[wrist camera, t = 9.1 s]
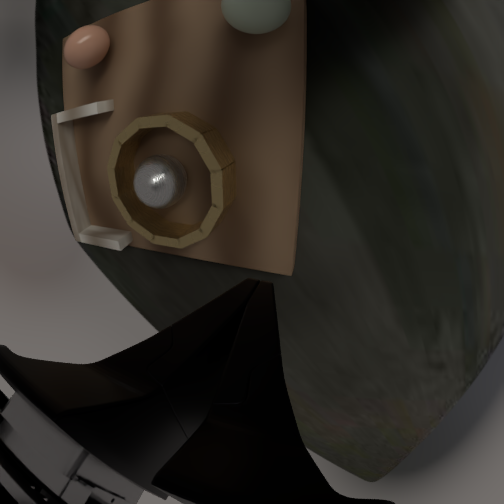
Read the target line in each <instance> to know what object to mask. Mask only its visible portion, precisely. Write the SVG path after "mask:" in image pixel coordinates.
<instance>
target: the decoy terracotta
mask: <svg viewBox="0 0 504 504" xmlns="http://www.w3.org/2000/svg"><path fill="white" fill-rule="evenodd" d="M109 47H110V38H109V35H108V33H107V31H106V30H105V29H103V28H102V27H100V26H97V25H87V26H83V27H81V28H79V29H77V30H76V31H74V32H73V33H72V34H71V35H70V36H69V38H68V39H67V41H66V43H65V46H64V58H65V60H66V62H67V63H68V64H69V65H70V66H71V67H73V68H76V69H87V68H91V67H93V66H95V65H97V64H98V63H99V62H101V61H102V60H103V58H104V57H105V56H106V54H107V52H108V50H109Z"/></svg>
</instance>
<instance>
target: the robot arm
mask: <svg viewBox="0 0 504 504" xmlns="http://www.w3.org/2000/svg"><path fill="white" fill-rule="evenodd" d="M0 374H1V375H2V377H3V378H4V379H5V380H6V381H7V383H8V384H9V385H10V386H11V387H12V388H13V389H14V390H15V393H14V394H13V395H12V397H11V398H10V399H8V398H7V396H6V395H5V394H4V393H3V392H2V391H1V390H0V504H137V502H138V500H139V498H140V497H141V495H142V493H143V491H144V490H145V491H148V492H150V493H152V494H154V495H156V496H158V497H160V498H162V499H164V500H166V499H167V497H168V496H171V497H173V498H174V499H176V500H178V501H180V502H181V503H183V504H395V503H394V502H391V501H387V500H379V499H355V498H349V497H346V496H343V495H341V494H339V493H337V492H336V491H334V489H332V487H331V486H330V485H329V483H328V482H327V481H326V479H325V477H324V476H323V474H322V473H321V471H320V470H319V468H318V466H317V465H316V463H315V462H314V460H313V459H312V457H311V455H310V454H309V452H308V451H307V449H306V447H305V445H304V443H303V441H302V439H301V436H300V433H299V430H298V427H297V423H296V420H295V416H294V413H293V410H292V406H291V403H290V399H289V396H288V392H287V388H286V383H285V379H284V373H283V366H282V357H281V349H280V339H279V330H278V321H277V312H276V303H275V295H274V286H273V283H272V282H268V281H260V280H257V279H252V278H248V279H246V280H244V281H242V282H241V283H239V284H238V285H236V286H234V287H233V288H231V289H230V290H228V291H226V292H225V293H223V294H222V295H220V296H218V297H217V298H215V299H213V300H212V301H210V302H209V303H207V304H205V305H204V306H202V307H200V308H199V309H197V310H195V311H194V312H192V313H191V314H189V315H187V316H186V317H184V318H182V319H181V320H179V321H177V322H176V323H174V324H172V327H171V326H169V327H167V328H166V329H164V330H162V331H161V332H159V333H157V334H155V335H154V336H152V337H150V338H148V339H146V340H144V341H142V342H140V343H138V344H136V345H134V346H132V347H130V348H127V349H125V350H123V351H121V352H119V353H116V354H114V355H112V356H110V357H108V358H105V359H103V360H101V361H98V362H95V363H90V364H72V363H62V362H53V361H44V360H37V359H31V358H26V357H22V356H19V355H17V354H15V353H13V352H12V351H11V350H9V348H7V347H6V346H4V345H0Z"/></svg>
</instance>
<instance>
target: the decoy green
mask: <svg viewBox="0 0 504 504" xmlns="http://www.w3.org/2000/svg"><path fill="white" fill-rule="evenodd" d="M221 9H222V13H223V16H224V18H225V19H226V21H227V22H228V23H229V24H230V25H231V26H233V27H234V28H235V29H237V30H239V31H242V32H245V33H249V34H263V33H268V32H271V31H273V30H275V29H277V28H279V27H280V26H281V25H282V24H283V23H284V22H285V21H286V20H287V18H288V17H289V14H290V11H291V0H222V1H221Z"/></svg>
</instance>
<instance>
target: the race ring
mask: <svg viewBox="0 0 504 504" xmlns="http://www.w3.org/2000/svg"><path fill="white" fill-rule="evenodd" d="M155 127H168V128H170V129H171V130H173V131H175V132H176V133H178V134H180V135H181V136H183V137H185V138H186V139H188V140H190V141H191V142H193V143H194V145H195V147H196V148H197V150H198V152H199V154H200V155H201V157H202V159H203V160H204V162H205V164H206V166H207V167H208V169H209V171H210V175H211V194H212V206H211V208H210V210H209V212H208V213H207V215H206V217H205V219H204V220H202V221H200V222H198V223H195V224H193V225H190V224H183V223H175V222H169V221H168V220H166V219H165V218H164V217H162V216H161V215H159V214H158V213H157V212H155V211H154V210H152V209H151V208H150V207H149V206H147V205H145V204H143V203H142V202H141V201H140V200H139V199H138V197H137V195H136V193H135V191H134V187H133V178H134V174H135V169H134V158H135V155H136V152H137V150H138V147H139V144H140V141H141V138H143V137H144V136H145V135H146V134H147V133H149V132H150V131H151V130H152V129H153V128H155ZM107 167H108V168H107V171H108V178H109V184H110V190H111V195H112V198H113V201H114V203H115V204H116V206H117V208H118V209H119V211H120V212H121V214H122V216H123V217H124V219H125V221H126V222H127V224H128V225H129V226H130V227H131V228H133V229H134V230H135V231H137V232H138V233H139V234H141V235H142V236H143V237H145V238H146V239H147V240H149V241H150V242H152V243H153V244H158V245H164V246H169V247H175V248H180V249H181V248H184V247H186V246H188V245H191V244H193V243H195V242H198V241H200V240H202V239H205V238H207V237H208V236H209V235H210V234H211V233H212V232H213V230H214V229H215V228H216V227H217V226H218V225H219V224H220V223H221V221H222V220H223V218H224V216H225V215H226V213H227V211H228V210H229V208H230V206H231V205H232V203H233V201H234V200H235V198H236V161H235V159H234V157H233V155H232V153H231V151H230V150H229V148H228V146H227V144H226V143H225V141H224V139H223V138H222V136H221V134H220V132H219V131H218V129H217V128H216V127H214V126H212V125H211V124H209V123H207V122H205V121H204V120H202V119H200V118H198V117H197V116H195V115H193V114H191V113H190V112H187V111H183V112H170V113H159V114H153V115H148V116H143V117H139V118H136V119H135V120H134V121H133V122H132V123H131V124H129V125H128V126H127V127H126V128H125V129H124V130H123V131H122V132H121V133H120V134H119V135H118V136H117V137H116V138H115V140H114V143H113V147H112V150H111V154H110V158H109V161H108V165H107Z"/></svg>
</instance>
